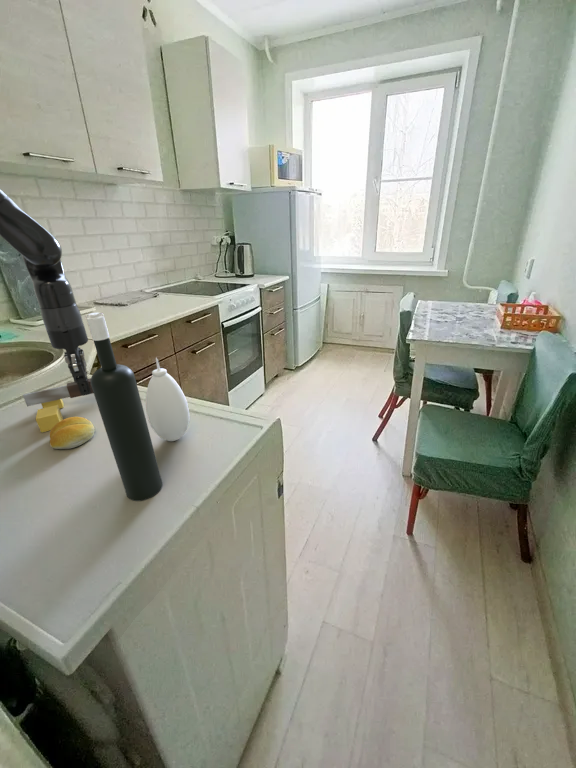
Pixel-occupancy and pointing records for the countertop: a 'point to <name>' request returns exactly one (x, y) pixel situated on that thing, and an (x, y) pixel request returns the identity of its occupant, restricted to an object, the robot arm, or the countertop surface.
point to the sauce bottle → (166, 406)
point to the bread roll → (71, 433)
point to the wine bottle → (123, 417)
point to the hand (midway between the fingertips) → (86, 392)
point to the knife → (54, 394)
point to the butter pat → (53, 403)
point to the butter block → (48, 418)
